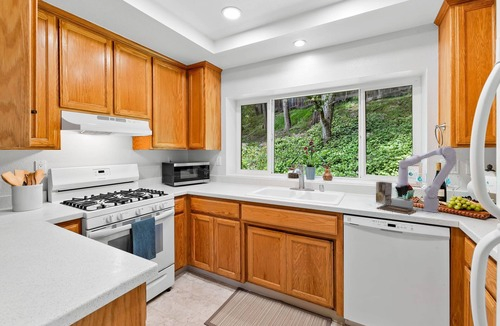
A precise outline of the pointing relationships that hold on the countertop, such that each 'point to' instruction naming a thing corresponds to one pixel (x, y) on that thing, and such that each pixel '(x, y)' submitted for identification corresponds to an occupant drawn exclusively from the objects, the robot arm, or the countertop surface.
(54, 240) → the countertop surface
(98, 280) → the countertop surface
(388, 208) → the jig
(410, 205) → the gray rectangular block
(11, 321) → the countertop surface
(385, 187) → the coffee box
